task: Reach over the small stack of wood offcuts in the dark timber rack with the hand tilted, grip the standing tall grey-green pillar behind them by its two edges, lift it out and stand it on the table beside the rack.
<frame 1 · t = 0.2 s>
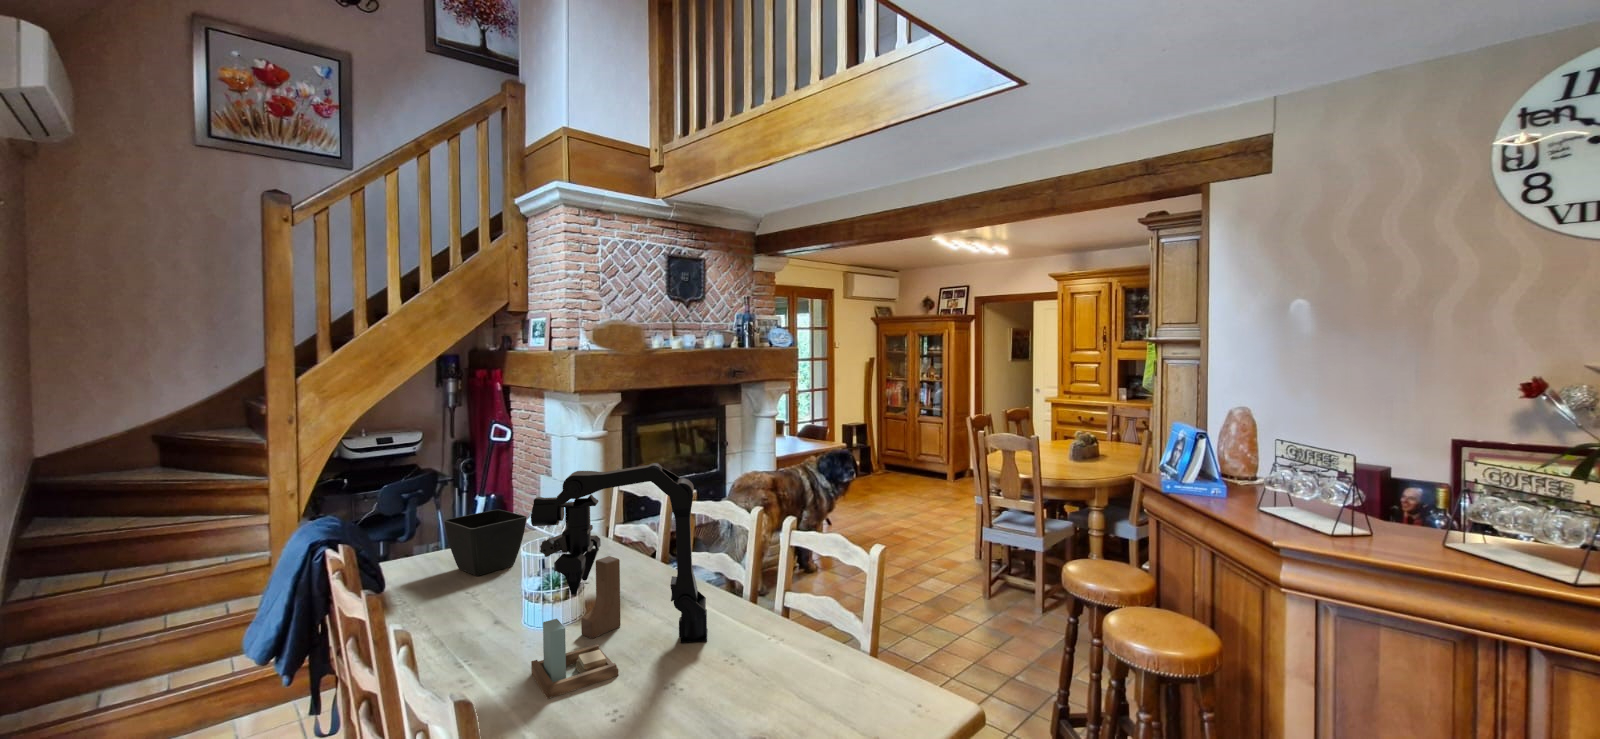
hand: (579, 587, 151), 14 cm above the table, tool pointing down, fingers open, 9 cm apart
rack: (568, 676, 137), on the table
flower pot: (486, 568, 207), on the table
tall grey-green pillar: (554, 681, 135), resting in rack
offcut stack: (591, 670, 140), resting in rack
wooden block: (601, 631, 160), on the table
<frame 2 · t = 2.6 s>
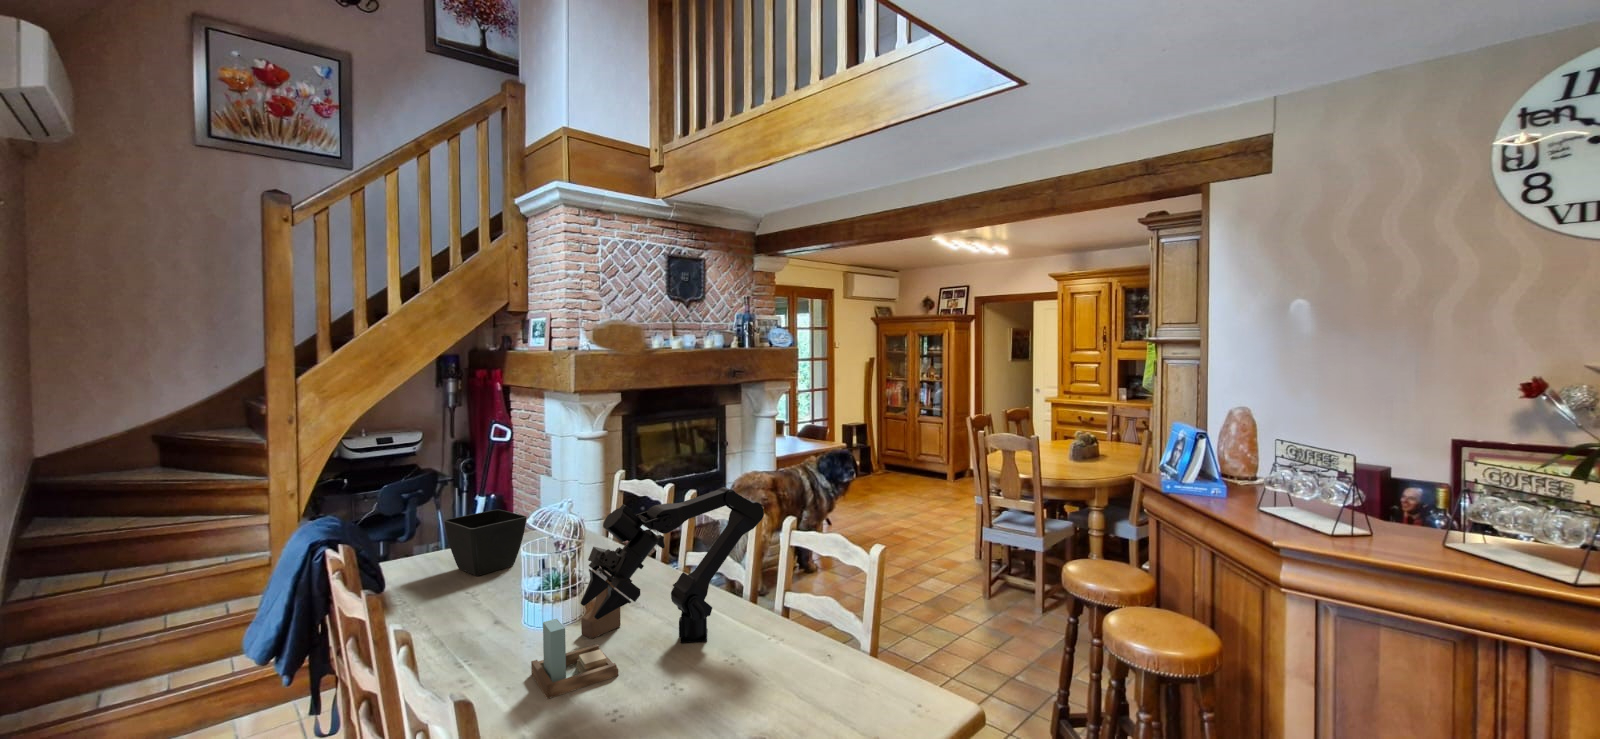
hand: (588, 611, 139), 13 cm above the table, tool tilted 45°, fingers open, 9 cm apart
nothing on the table moved.
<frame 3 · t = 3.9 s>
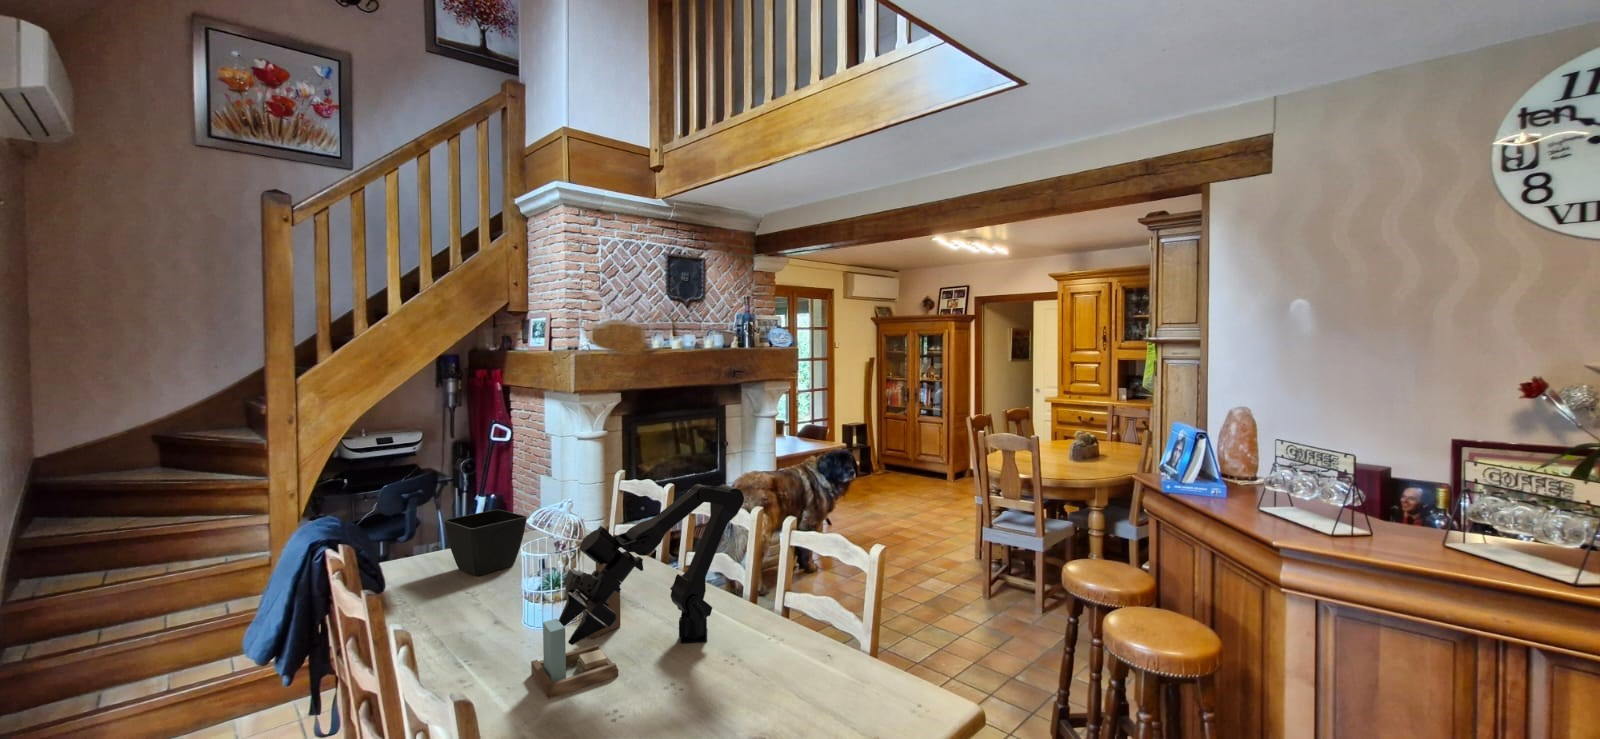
hand: (563, 636, 136), 9 cm above the table, tool tilted 45°, fingers open, 9 cm apart
nothing on the table moved.
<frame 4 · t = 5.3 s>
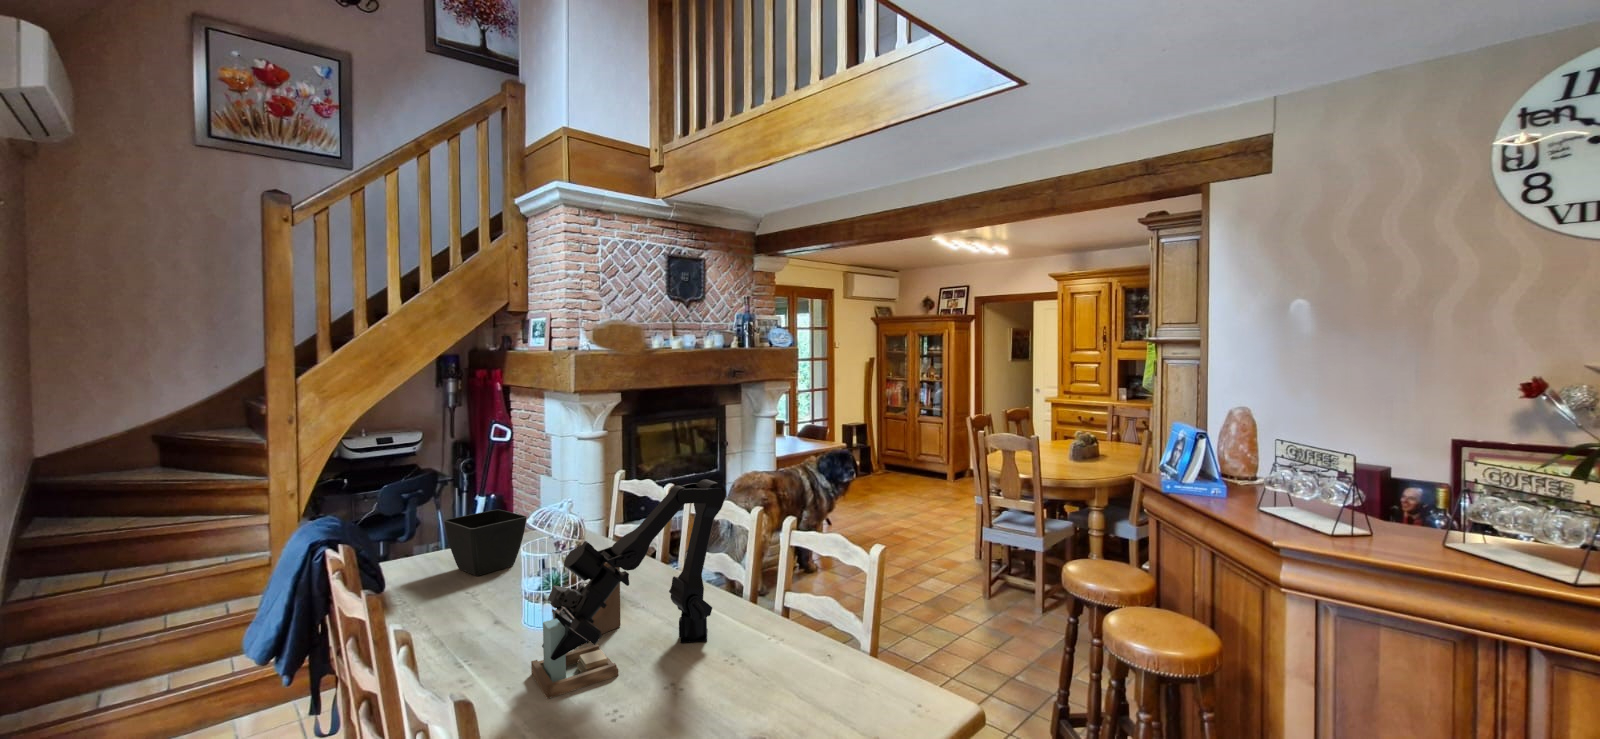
hand: (547, 653, 134), 7 cm above the table, tool tilted 45°, fingers closed on tall grey-green pillar, 6 cm apart
tall grey-green pillar: (554, 681, 135), resting in rack, touching gripper
everything else where it was.
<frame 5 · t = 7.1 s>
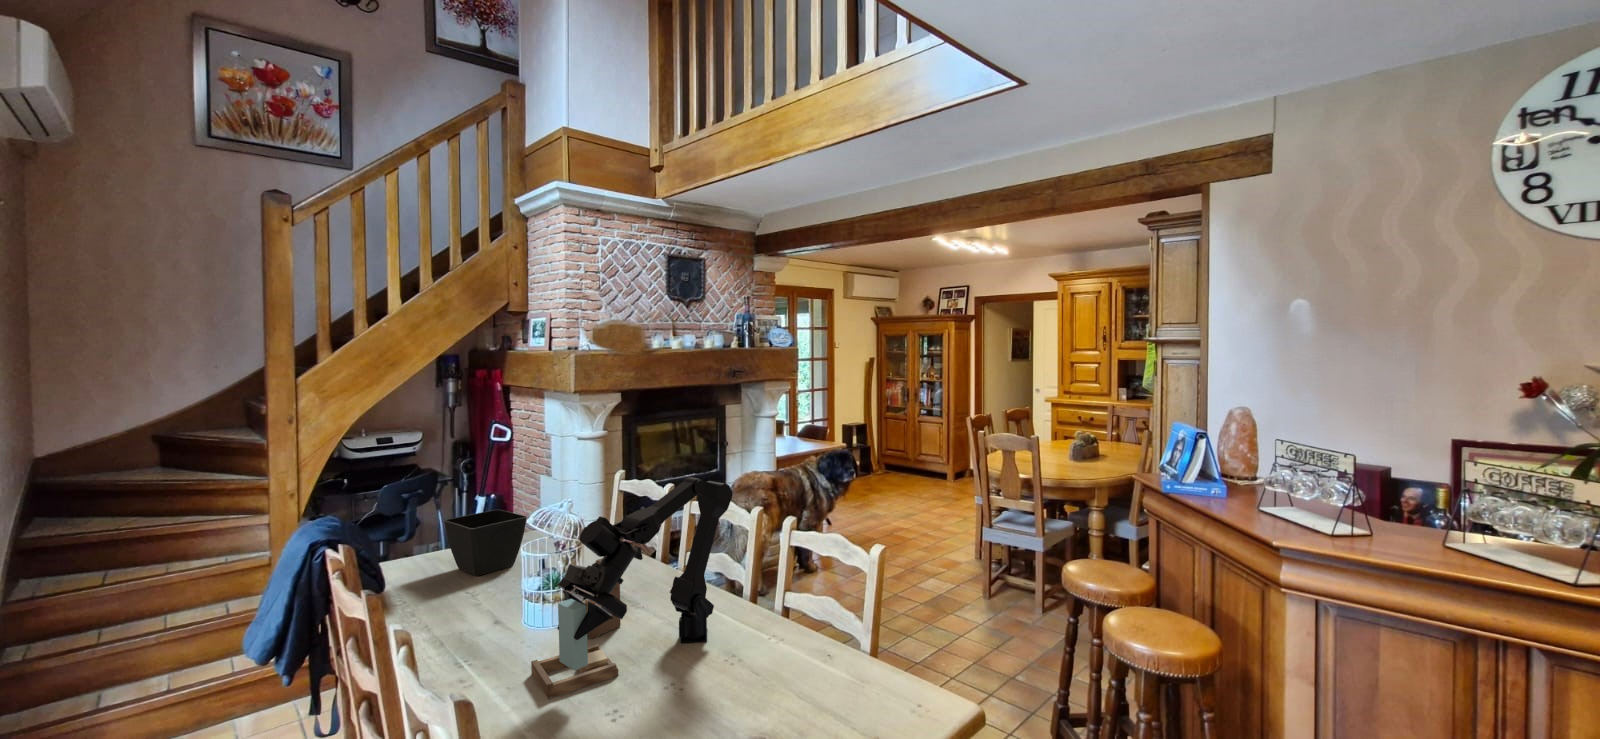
hand: (567, 634, 128), 13 cm above the table, tool tilted 45°, fingers closed on tall grey-green pillar, 6 cm apart
tall grey-green pillar: (573, 663, 130), point 7 cm above the table, touching gripper
everything else where it was.
when the fingers open (8 cm above the table, at t = 9.1 s): tall grey-green pillar stays where it is, on the table.
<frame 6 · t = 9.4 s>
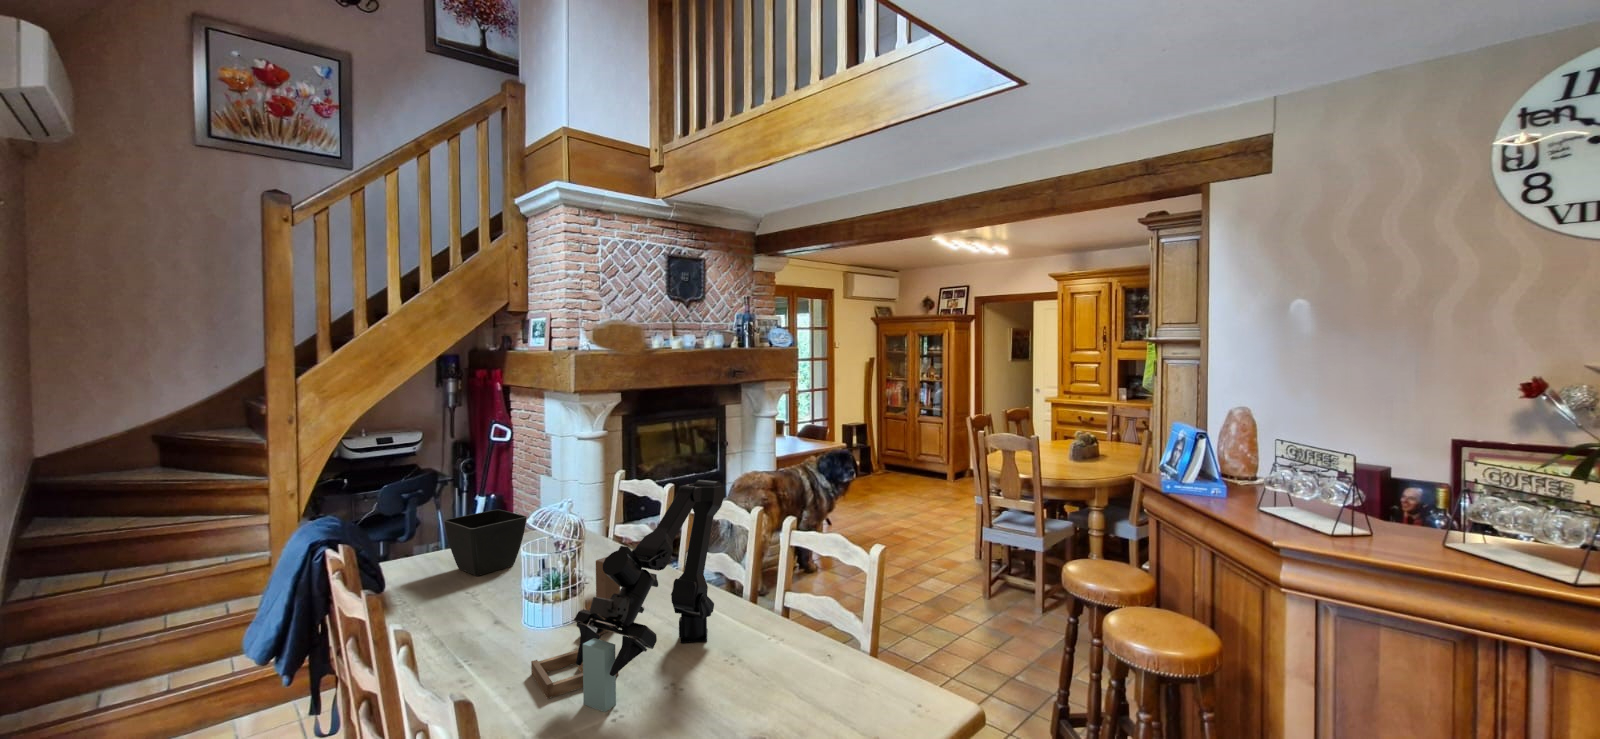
hand: (594, 670, 125), 8 cm above the table, tool tilted 45°, fingers open, 9 cm apart
tall grey-green pillar: (599, 704, 126), on the table
everything else where it was.
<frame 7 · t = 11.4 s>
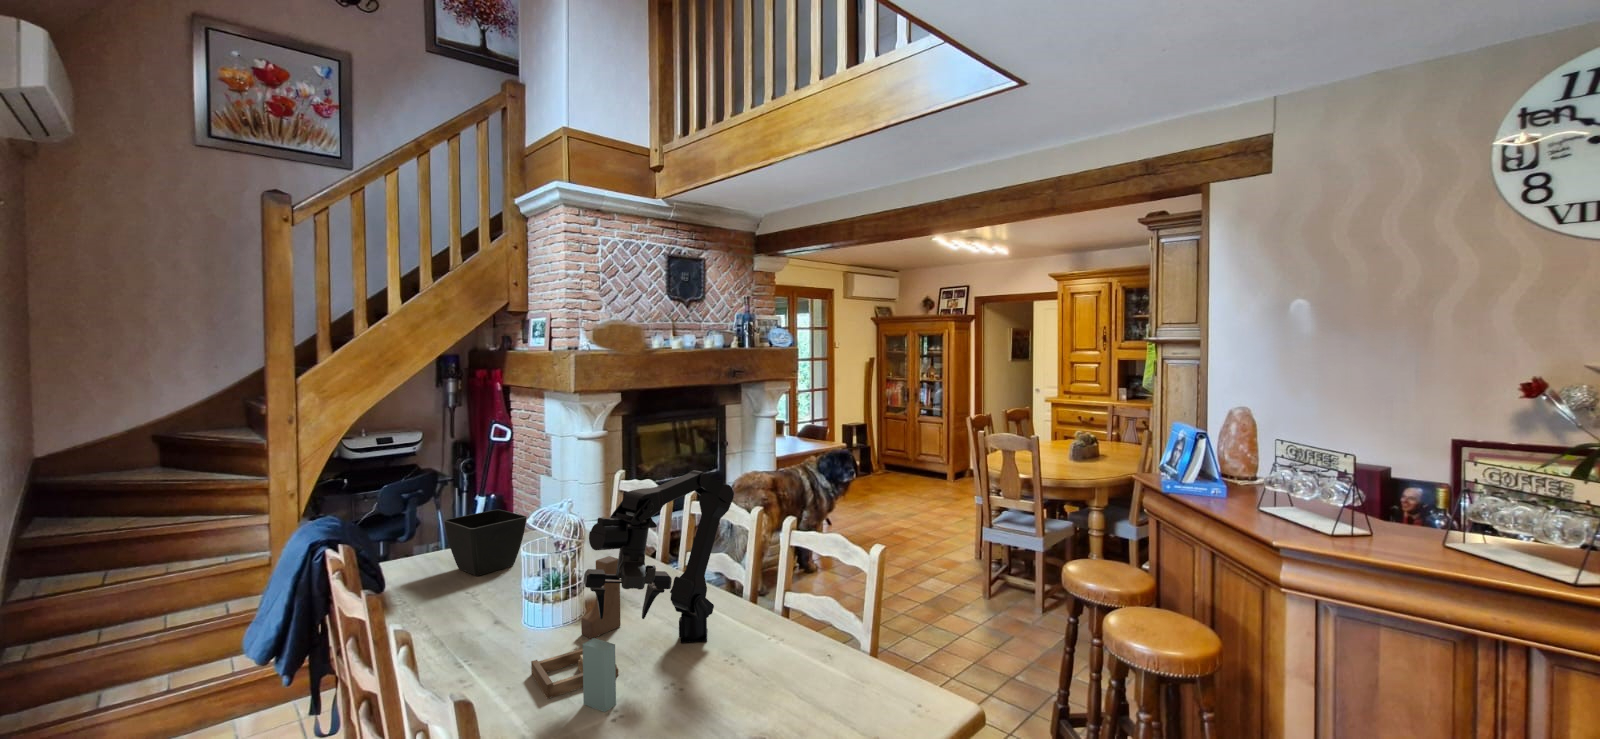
hand: (622, 618, 139), 12 cm above the table, tool pointing down, fingers open, 9 cm apart
nothing on the table moved.
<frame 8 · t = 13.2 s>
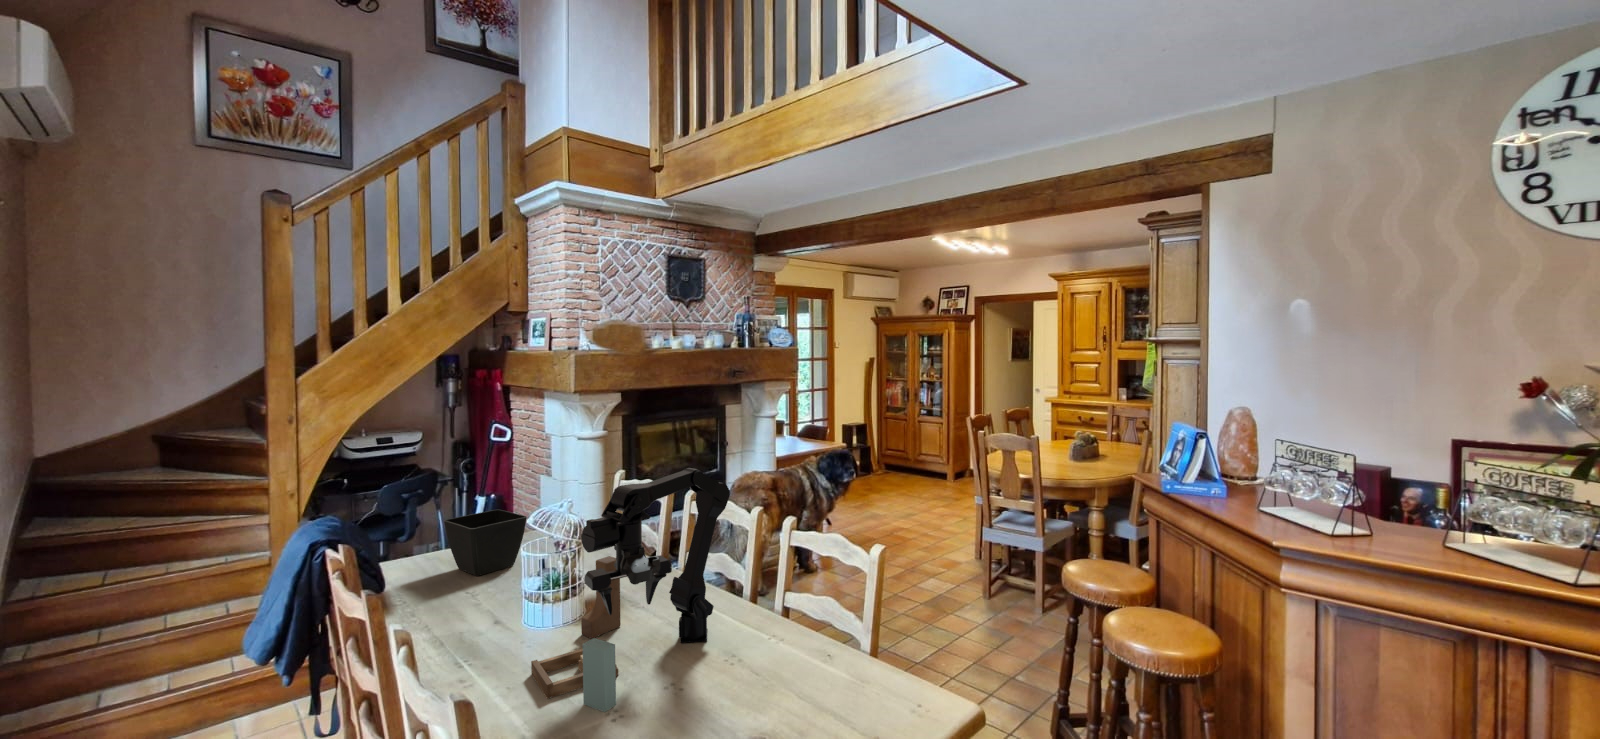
hand: (629, 609, 142), 13 cm above the table, tool pointing down, fingers open, 9 cm apart
nothing on the table moved.
at the end: tall grey-green pillar inside the target area (0.0 cm from its centre), on the table; tall grey-green pillar tilted 0°; the gripper is holding nothing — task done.
